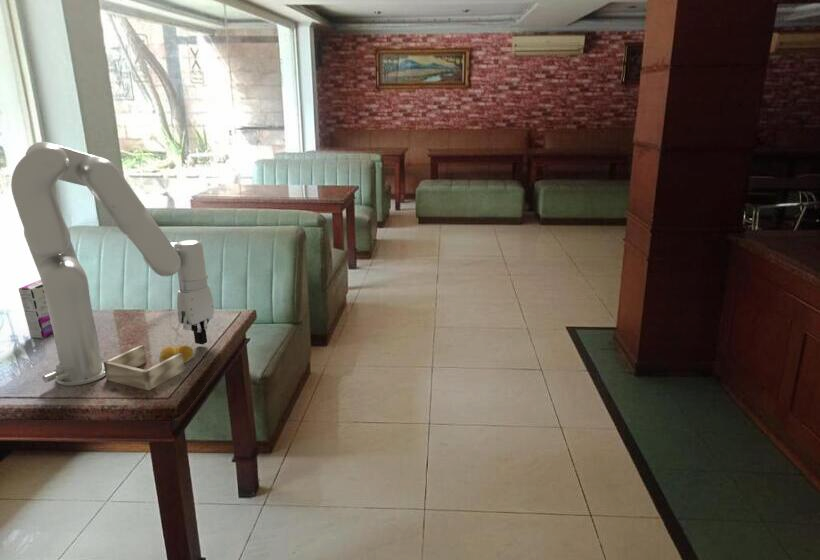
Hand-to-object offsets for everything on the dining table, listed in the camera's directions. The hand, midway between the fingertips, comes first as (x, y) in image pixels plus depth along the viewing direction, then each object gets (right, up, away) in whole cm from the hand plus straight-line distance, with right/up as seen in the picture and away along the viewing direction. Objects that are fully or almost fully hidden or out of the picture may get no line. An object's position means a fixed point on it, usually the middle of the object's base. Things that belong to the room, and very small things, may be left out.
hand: (201, 342), depth 170 cm
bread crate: (-8, -7, -17) cm, 20 cm away
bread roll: (-4, -4, -8) cm, 10 cm away
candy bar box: (-53, +2, +13) cm, 54 cm away
